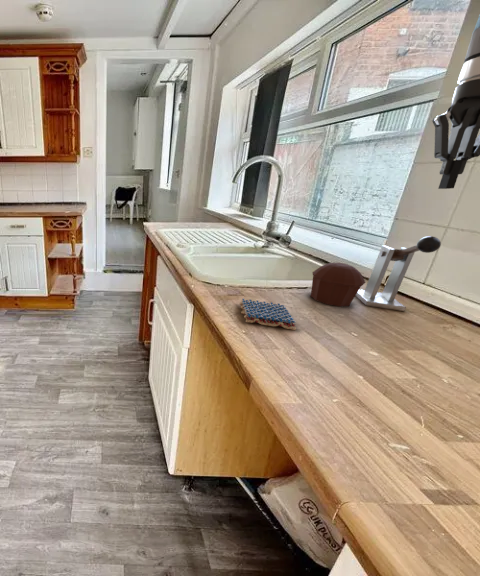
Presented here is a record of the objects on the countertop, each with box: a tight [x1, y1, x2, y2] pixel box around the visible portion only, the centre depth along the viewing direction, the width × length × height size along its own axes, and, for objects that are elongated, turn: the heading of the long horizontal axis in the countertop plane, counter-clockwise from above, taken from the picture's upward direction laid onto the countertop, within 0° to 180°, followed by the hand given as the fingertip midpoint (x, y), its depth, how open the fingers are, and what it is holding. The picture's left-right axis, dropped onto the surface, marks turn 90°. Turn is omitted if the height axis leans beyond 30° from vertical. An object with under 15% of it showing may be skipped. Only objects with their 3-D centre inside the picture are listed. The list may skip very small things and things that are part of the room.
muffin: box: [310, 262, 367, 308], centre depth 81 cm, size 12×11×10 cm
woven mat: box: [239, 298, 297, 331], centre depth 71 cm, size 10×11×2 cm
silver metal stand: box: [355, 244, 416, 312], centre depth 81 cm, size 10×8×15 cm
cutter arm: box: [390, 235, 442, 262], centre depth 73 cm, size 15×4×4 cm, turn 160°
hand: (445, 188), depth 77 cm, fingers closed
